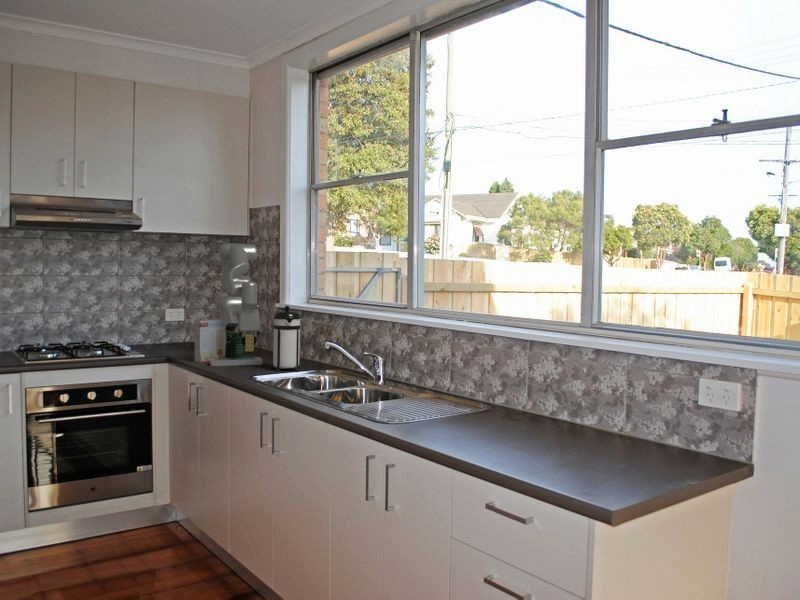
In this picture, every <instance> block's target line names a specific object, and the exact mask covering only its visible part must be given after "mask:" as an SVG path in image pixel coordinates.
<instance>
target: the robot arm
mask: <svg viewBox="0 0 800 600" xmlns="http://www.w3.org/2000/svg"><path fill="white" fill-rule="evenodd" d="M217 251H218V258H219V261H220V265H221V290H222V291H223V292H224V293H227V294H228V295H224V296H221V297H220V298H219V299H218V308H219V316H220V317H219V319H222V320H225V329H226V325H227V324H229V323H237V324H238V326H237V327H236V329H235V330H234V331H235V332H237V333H238V334H239V335H240V336H241V337H242V344H243V347H244V346H245V334H246V332H252V334H253V335H254V346H256V344H257V337H258V336H259V335H261V333H263V332H265V330H264V328H263V326H262V325H261V319H260V312H259V310H258V309H260V308H261V305H260V304H258V284H257V282H254V281H252V278H251V277H250V276H248V275H245V274H247V273H248V272H249V270H250V262H249V261H256V260H257V259H258V258H259V257H258V255H259V251H258V248H257V246H256V245H255V244H254V243H253V244H251V243H233V242H230V243H229V242H227V243H221V244H220V245H219V247H218V250H217ZM234 314H238V318H237V316H235V315H234ZM238 329H239V330H241V331H242V333H241V332H240V331H238ZM225 351H226V331H225Z"/></svg>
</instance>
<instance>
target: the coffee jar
mask: <svg viewBox="0 0 800 600" xmlns="http://www.w3.org/2000/svg"><path fill="white" fill-rule="evenodd" d="M237 326H238V324H237V323H229V324H227V325H226V329H225V331H226V351H225V358H240V357H245V356H244V355H245V354H244V353H245V351H244V345H243V344H242V337H241V336H240V335H239V334H238V333H237V332H235V331H234V330H235V329H236V327H237ZM238 331H240V332H241V333H242V331H241V330H239V329H238Z"/></svg>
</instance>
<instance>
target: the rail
mask: <svg viewBox="0 0 800 600" xmlns="http://www.w3.org/2000/svg"><path fill="white" fill-rule="evenodd" d="M209 365H210V366H211V367H219V366H220V367H221V366H253V365H254V366H257V365H263V358H262V357H260V356H257V357H256V356H244V357H240V358H210V362H209Z"/></svg>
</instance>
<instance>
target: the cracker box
mask: <svg viewBox="0 0 800 600" xmlns="http://www.w3.org/2000/svg"><path fill="white" fill-rule="evenodd" d="M193 323H194V325H193V326H194V330H193V331H194V362H196V363H207V362H208V363H210V358H225V320H222V319H220V318H217V319H196V320H194V322H193Z"/></svg>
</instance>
